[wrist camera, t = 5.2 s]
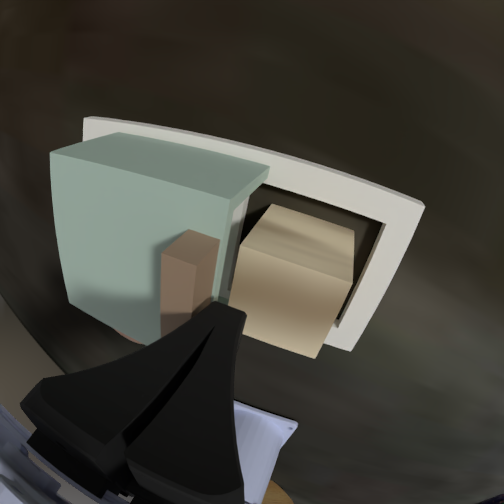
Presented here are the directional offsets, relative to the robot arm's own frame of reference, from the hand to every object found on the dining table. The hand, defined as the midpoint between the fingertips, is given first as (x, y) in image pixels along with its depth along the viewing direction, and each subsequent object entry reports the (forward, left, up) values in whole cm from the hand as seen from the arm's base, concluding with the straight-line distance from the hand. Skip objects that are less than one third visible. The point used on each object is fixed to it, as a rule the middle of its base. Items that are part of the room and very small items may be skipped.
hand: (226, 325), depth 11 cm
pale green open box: (0, +5, -6) cm, 8 cm away
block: (0, -2, -7) cm, 7 cm away
